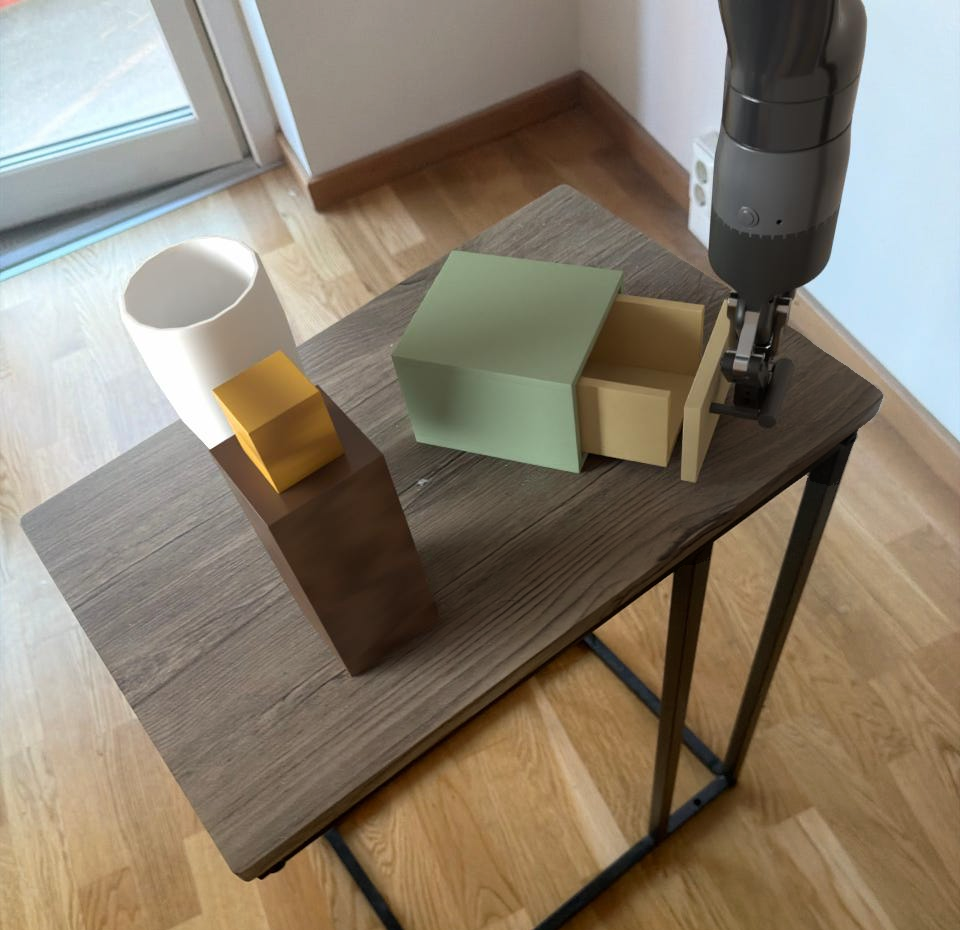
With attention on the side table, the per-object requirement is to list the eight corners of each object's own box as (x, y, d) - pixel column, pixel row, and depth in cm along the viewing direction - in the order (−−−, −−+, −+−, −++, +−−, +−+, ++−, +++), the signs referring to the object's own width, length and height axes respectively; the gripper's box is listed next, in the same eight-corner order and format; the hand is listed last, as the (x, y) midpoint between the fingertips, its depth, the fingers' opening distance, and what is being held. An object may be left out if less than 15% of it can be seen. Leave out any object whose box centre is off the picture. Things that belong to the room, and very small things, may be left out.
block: (307, 411, 57) (280, 348, 53) (345, 453, 55) (319, 390, 51) (243, 450, 56) (211, 389, 52) (279, 494, 54) (247, 434, 50)
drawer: (793, 388, 75) (807, 309, 68) (760, 495, 70) (772, 421, 63) (576, 354, 81) (569, 278, 74) (531, 451, 76) (520, 379, 69)
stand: (385, 552, 74) (317, 383, 59) (441, 617, 70) (383, 454, 55) (300, 608, 72) (207, 449, 57) (352, 678, 68) (267, 527, 53)
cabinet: (626, 365, 80) (623, 270, 72) (579, 474, 75) (571, 385, 67) (471, 340, 85) (452, 249, 77) (416, 442, 79) (390, 355, 71)
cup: (376, 506, 76) (291, 288, 58) (262, 567, 75) (138, 362, 57) (325, 431, 82) (233, 209, 64) (218, 486, 80) (93, 275, 62)
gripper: (818, 270, 52) (780, 477, 66) (863, 130, 57) (819, 348, 72) (684, 254, 54) (676, 457, 69) (740, 121, 60) (721, 335, 74)
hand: (749, 401), depth 70 cm, fingers closed
